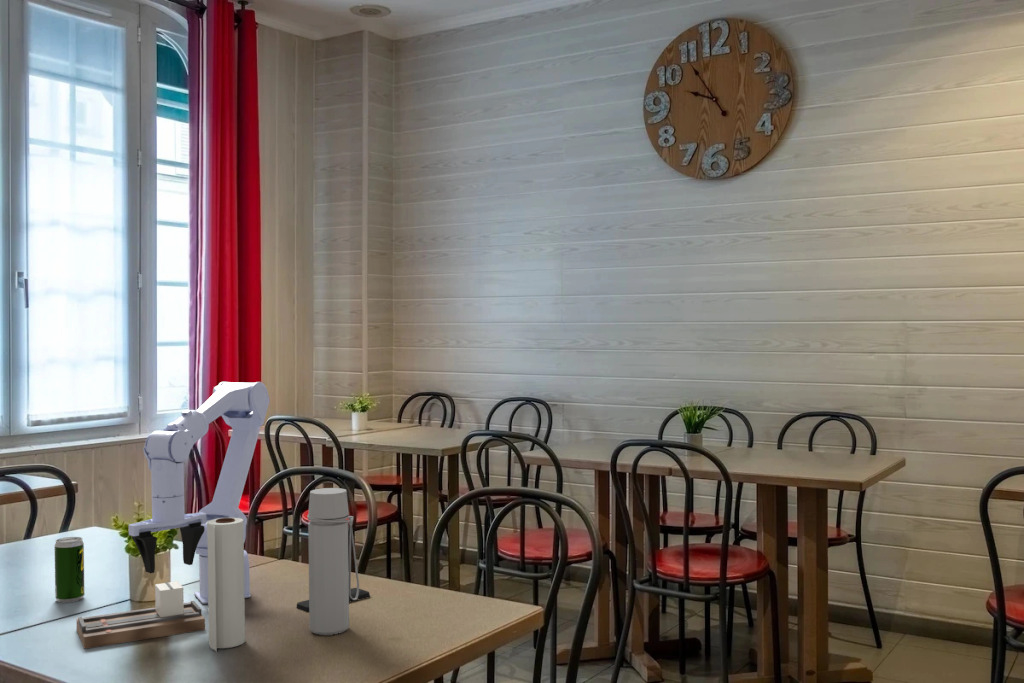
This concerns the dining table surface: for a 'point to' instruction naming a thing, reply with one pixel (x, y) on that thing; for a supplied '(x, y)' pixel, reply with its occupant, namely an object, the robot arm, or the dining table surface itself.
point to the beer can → (69, 569)
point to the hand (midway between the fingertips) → (169, 568)
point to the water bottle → (329, 561)
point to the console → (137, 625)
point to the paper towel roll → (226, 582)
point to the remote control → (362, 594)
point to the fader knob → (169, 599)
